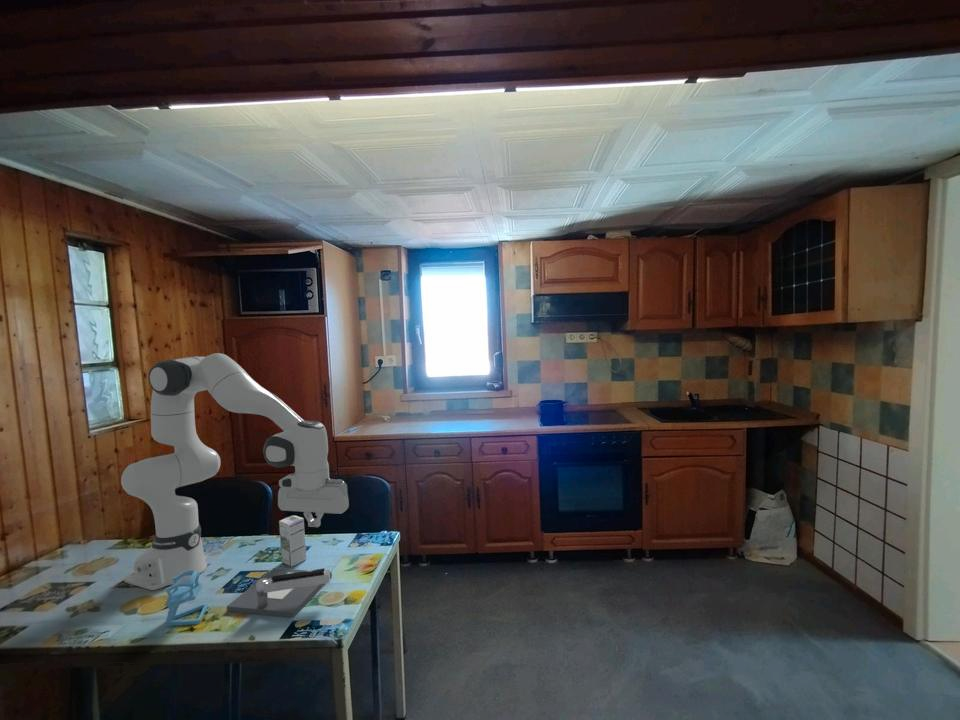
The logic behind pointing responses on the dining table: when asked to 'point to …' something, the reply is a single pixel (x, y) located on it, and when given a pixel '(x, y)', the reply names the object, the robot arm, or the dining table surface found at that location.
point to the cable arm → (292, 581)
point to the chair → (183, 599)
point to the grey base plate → (275, 598)
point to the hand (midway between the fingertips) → (314, 526)
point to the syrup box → (292, 540)
